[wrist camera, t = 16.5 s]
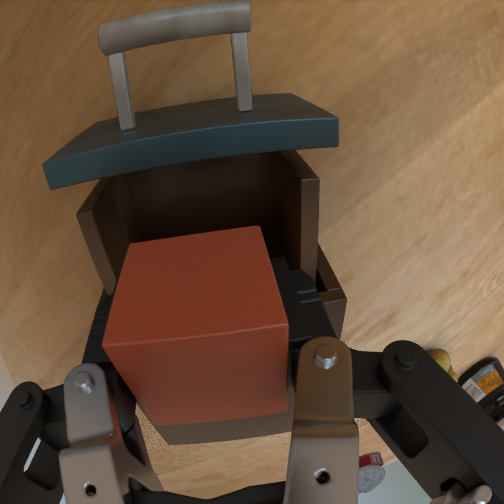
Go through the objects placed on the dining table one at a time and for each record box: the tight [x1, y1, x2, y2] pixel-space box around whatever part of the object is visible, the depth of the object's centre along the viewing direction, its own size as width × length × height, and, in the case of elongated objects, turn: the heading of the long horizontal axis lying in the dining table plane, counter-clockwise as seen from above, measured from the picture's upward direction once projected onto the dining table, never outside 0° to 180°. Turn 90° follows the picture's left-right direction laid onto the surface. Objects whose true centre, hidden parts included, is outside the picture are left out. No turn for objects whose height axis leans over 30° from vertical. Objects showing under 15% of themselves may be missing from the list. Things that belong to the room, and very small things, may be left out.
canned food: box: [358, 452, 385, 493], centre depth 61 cm, size 11×10×10 cm
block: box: [102, 226, 289, 425], centre depth 9 cm, size 4×4×4 cm
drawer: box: [42, 0, 339, 295], centre depth 16 cm, size 18×11×7 cm, turn 4°
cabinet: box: [91, 244, 347, 445], centre depth 22 cm, size 15×13×9 cm
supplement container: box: [457, 357, 504, 427], centre depth 41 cm, size 10×10×12 cm
